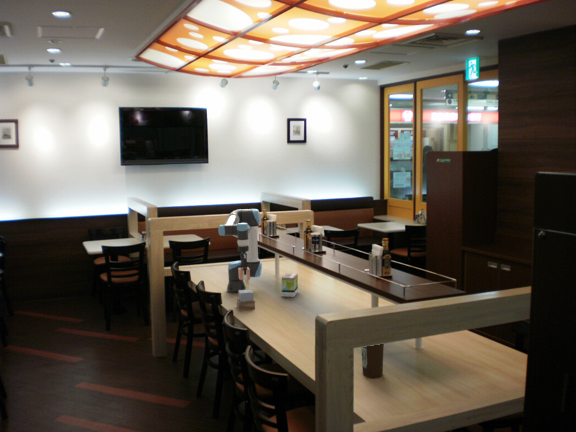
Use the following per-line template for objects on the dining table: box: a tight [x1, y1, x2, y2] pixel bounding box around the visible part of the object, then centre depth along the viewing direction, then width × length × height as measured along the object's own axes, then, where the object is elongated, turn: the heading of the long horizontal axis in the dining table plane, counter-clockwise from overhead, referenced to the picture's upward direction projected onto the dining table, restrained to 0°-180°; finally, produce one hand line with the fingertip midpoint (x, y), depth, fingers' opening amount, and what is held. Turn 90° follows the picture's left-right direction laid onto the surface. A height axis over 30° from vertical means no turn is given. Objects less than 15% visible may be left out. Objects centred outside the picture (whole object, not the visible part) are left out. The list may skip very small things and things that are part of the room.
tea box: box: [281, 273, 299, 298], centre depth 394 cm, size 15×10×15 cm, turn 168°
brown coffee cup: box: [360, 344, 385, 379], centre depth 244 cm, size 11×11×25 cm
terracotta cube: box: [238, 267, 251, 281], centre depth 360 cm, size 7×7×7 cm
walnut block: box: [236, 297, 256, 312], centre depth 362 cm, size 11×11×6 cm
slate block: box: [237, 288, 254, 302], centre depth 361 cm, size 9×9×6 cm
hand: (244, 277), depth 360 cm, fingers closed on terracotta cube, 7 cm apart
